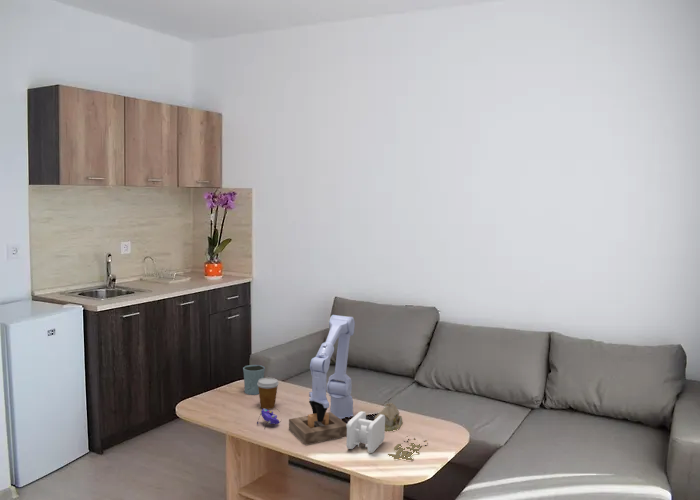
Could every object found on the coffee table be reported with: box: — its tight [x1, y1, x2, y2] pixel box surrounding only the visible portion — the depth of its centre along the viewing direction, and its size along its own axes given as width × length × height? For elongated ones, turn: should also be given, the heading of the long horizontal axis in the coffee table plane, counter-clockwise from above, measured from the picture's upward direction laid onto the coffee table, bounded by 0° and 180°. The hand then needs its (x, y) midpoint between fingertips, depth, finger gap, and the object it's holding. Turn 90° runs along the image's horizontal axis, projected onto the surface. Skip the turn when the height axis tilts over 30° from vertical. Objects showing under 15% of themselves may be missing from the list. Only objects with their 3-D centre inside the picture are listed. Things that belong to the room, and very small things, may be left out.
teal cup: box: [242, 364, 266, 396], centre depth 293 cm, size 10×10×12 cm
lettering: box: [387, 435, 420, 461], centre depth 236 cm, size 25×10×1 cm, turn 153°
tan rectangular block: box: [307, 411, 329, 428], centre depth 247 cm, size 8×3×5 cm, turn 119°
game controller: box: [256, 406, 282, 430], centre depth 256 cm, size 10×8×10 cm
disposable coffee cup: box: [257, 377, 279, 410], centre depth 275 cm, size 10×10×12 cm
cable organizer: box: [345, 411, 386, 454], centre depth 236 cm, size 15×11×12 cm
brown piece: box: [288, 411, 347, 446], centre depth 248 cm, size 19×16×4 cm
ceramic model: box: [374, 402, 403, 432], centre depth 257 cm, size 14×11×10 cm
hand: (318, 419), depth 247 cm, fingers closed on tan rectangular block, 3 cm apart
